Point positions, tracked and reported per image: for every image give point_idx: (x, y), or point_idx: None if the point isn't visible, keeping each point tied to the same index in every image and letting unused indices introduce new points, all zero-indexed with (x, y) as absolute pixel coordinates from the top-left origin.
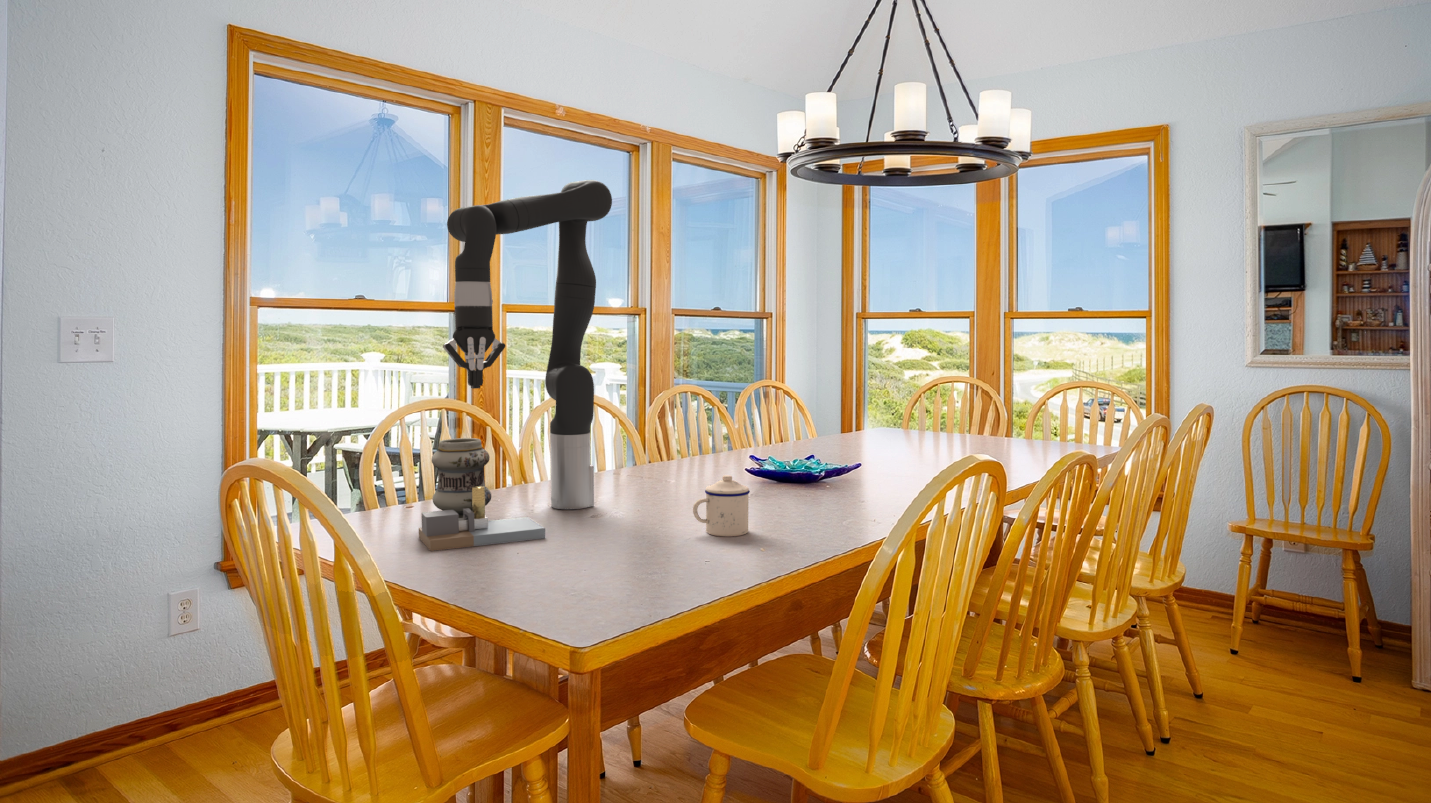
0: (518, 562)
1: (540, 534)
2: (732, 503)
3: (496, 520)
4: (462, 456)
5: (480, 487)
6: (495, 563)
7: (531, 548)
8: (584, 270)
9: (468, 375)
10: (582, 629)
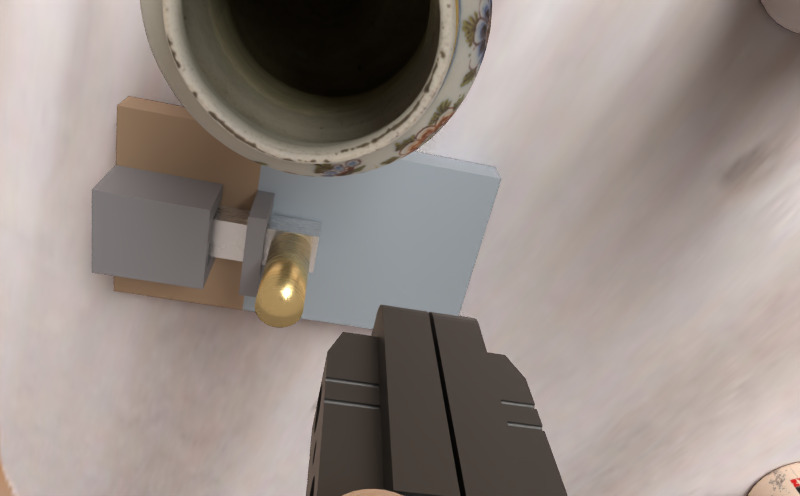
0: (280, 465)
1: None
2: None
3: (390, 165)
4: (271, 166)
5: (286, 311)
6: (233, 448)
7: None
8: None
9: (309, 490)
10: None
